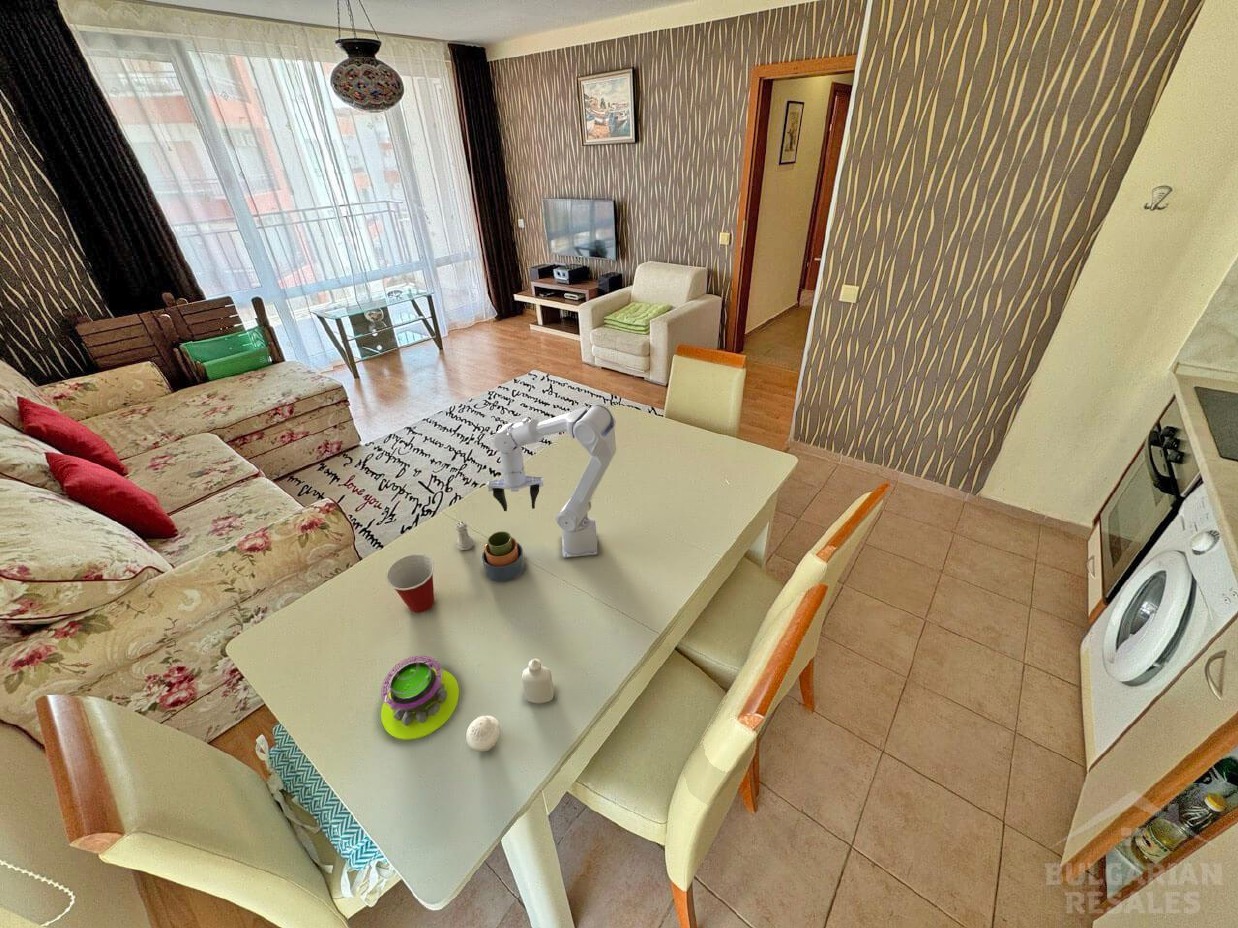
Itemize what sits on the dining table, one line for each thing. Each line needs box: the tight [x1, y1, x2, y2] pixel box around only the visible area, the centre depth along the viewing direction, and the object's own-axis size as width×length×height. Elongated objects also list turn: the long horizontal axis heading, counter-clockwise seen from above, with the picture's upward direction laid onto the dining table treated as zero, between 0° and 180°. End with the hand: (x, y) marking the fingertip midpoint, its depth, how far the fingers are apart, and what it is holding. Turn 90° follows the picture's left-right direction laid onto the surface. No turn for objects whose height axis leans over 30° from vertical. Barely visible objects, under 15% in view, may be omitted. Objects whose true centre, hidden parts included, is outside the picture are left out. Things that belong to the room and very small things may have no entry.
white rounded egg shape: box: [465, 715, 501, 752], centre depth 90 cm, size 6×6×7 cm
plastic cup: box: [385, 552, 435, 614], centre depth 116 cm, size 11×11×12 cm
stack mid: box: [484, 536, 519, 567], centre depth 128 cm, size 8×8×8 cm
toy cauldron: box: [380, 654, 460, 741], centre depth 96 cm, size 15×15×11 cm
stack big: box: [481, 542, 526, 583], centre depth 129 cm, size 10×10×5 cm
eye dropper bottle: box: [521, 657, 555, 704], centre depth 96 cm, size 4×6×12 cm
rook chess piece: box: [454, 520, 475, 551], centre depth 135 cm, size 4×4×8 cm
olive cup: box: [487, 531, 513, 557], centre depth 126 cm, size 6×6×6 cm
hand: (519, 507), depth 136 cm, fingers open, 7 cm apart
